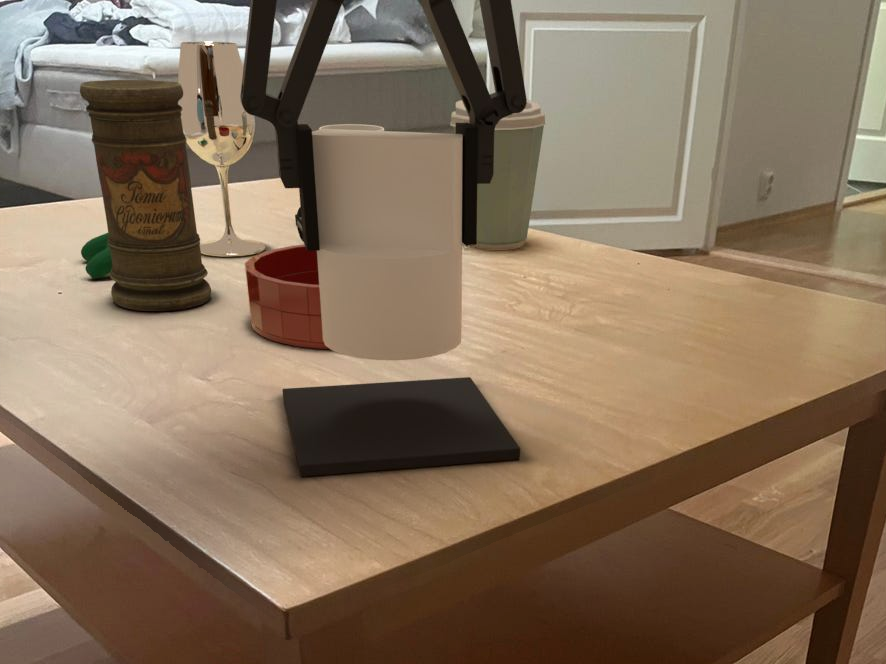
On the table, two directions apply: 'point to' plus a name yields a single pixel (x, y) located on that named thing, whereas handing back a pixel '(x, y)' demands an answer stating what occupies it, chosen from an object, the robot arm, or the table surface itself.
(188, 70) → the wineglass
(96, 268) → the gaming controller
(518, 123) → the disposable coffee cup
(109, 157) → the container
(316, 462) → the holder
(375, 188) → the base with upright slab
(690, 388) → the table surface
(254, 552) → the table surface
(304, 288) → the red round dish
